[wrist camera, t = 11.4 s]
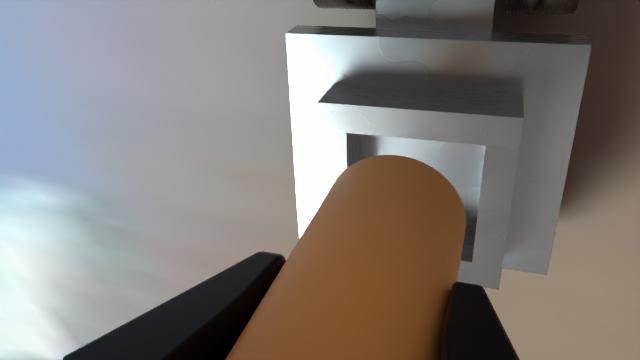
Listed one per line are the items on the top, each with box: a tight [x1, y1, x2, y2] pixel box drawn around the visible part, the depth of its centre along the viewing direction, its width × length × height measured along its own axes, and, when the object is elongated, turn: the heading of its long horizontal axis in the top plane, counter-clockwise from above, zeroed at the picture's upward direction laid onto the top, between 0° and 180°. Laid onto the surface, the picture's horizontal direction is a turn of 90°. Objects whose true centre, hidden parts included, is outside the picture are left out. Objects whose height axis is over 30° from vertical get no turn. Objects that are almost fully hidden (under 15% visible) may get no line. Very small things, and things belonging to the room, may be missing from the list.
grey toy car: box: [286, 0, 592, 290], centre depth 17 cm, size 8×12×6 cm, turn 2°
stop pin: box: [225, 155, 466, 360], centre depth 7 cm, size 3×3×7 cm
